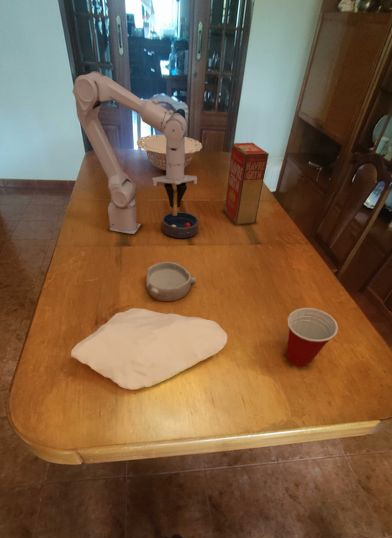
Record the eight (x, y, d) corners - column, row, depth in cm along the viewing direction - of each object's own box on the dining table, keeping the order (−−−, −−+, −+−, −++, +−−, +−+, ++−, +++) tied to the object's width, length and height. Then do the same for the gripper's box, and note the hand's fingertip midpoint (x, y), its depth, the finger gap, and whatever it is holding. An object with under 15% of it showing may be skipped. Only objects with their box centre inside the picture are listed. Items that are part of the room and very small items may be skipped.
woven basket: (174, 158, 177) (174, 131, 168) (213, 175, 162) (216, 147, 153) (125, 168, 161) (122, 139, 152) (164, 188, 146) (164, 157, 137)
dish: (155, 308, 88) (154, 293, 84) (137, 280, 96) (136, 266, 92) (201, 295, 93) (202, 281, 89) (180, 270, 101) (181, 256, 97)
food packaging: (222, 210, 134) (231, 142, 116) (243, 209, 136) (254, 141, 118) (235, 225, 125) (246, 153, 107) (256, 223, 128) (271, 153, 110)
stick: (171, 215, 111) (171, 191, 105) (172, 213, 112) (173, 189, 106) (176, 216, 111) (176, 192, 105) (177, 214, 112) (178, 190, 106)
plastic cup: (270, 342, 81) (282, 306, 73) (310, 342, 82) (327, 306, 74) (281, 376, 74) (296, 340, 65) (325, 374, 75) (346, 339, 66)
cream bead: (170, 231, 117) (170, 225, 116) (171, 228, 119) (171, 223, 117) (175, 232, 117) (175, 226, 115) (177, 229, 118) (177, 224, 117)
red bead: (184, 229, 119) (184, 223, 117) (185, 226, 121) (185, 221, 119) (189, 230, 119) (190, 224, 117) (191, 227, 120) (191, 222, 119)
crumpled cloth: (75, 323, 80) (66, 298, 72) (208, 307, 87) (213, 282, 79) (79, 408, 67) (69, 389, 60) (234, 381, 74) (242, 360, 67)
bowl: (157, 235, 116) (157, 224, 113) (168, 220, 125) (168, 209, 122) (193, 242, 114) (194, 231, 111) (201, 225, 123) (202, 215, 120)
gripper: (155, 167, 95) (156, 212, 105) (201, 166, 99) (198, 209, 109) (150, 159, 100) (152, 203, 110) (194, 158, 103) (192, 201, 113)
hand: (174, 206), depth 109 cm, fingers closed on stick, 2 cm apart
